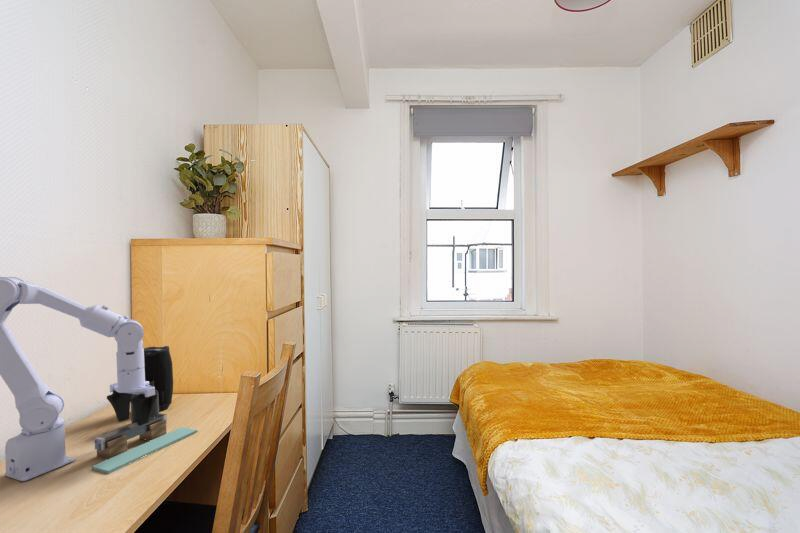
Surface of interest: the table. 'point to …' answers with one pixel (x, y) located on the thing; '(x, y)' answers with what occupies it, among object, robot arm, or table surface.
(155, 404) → the supplement bottle
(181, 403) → the table surface
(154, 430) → the cradle right
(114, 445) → the cradle left
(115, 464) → the mat
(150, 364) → the portable speaker
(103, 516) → the table surface
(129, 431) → the rail
